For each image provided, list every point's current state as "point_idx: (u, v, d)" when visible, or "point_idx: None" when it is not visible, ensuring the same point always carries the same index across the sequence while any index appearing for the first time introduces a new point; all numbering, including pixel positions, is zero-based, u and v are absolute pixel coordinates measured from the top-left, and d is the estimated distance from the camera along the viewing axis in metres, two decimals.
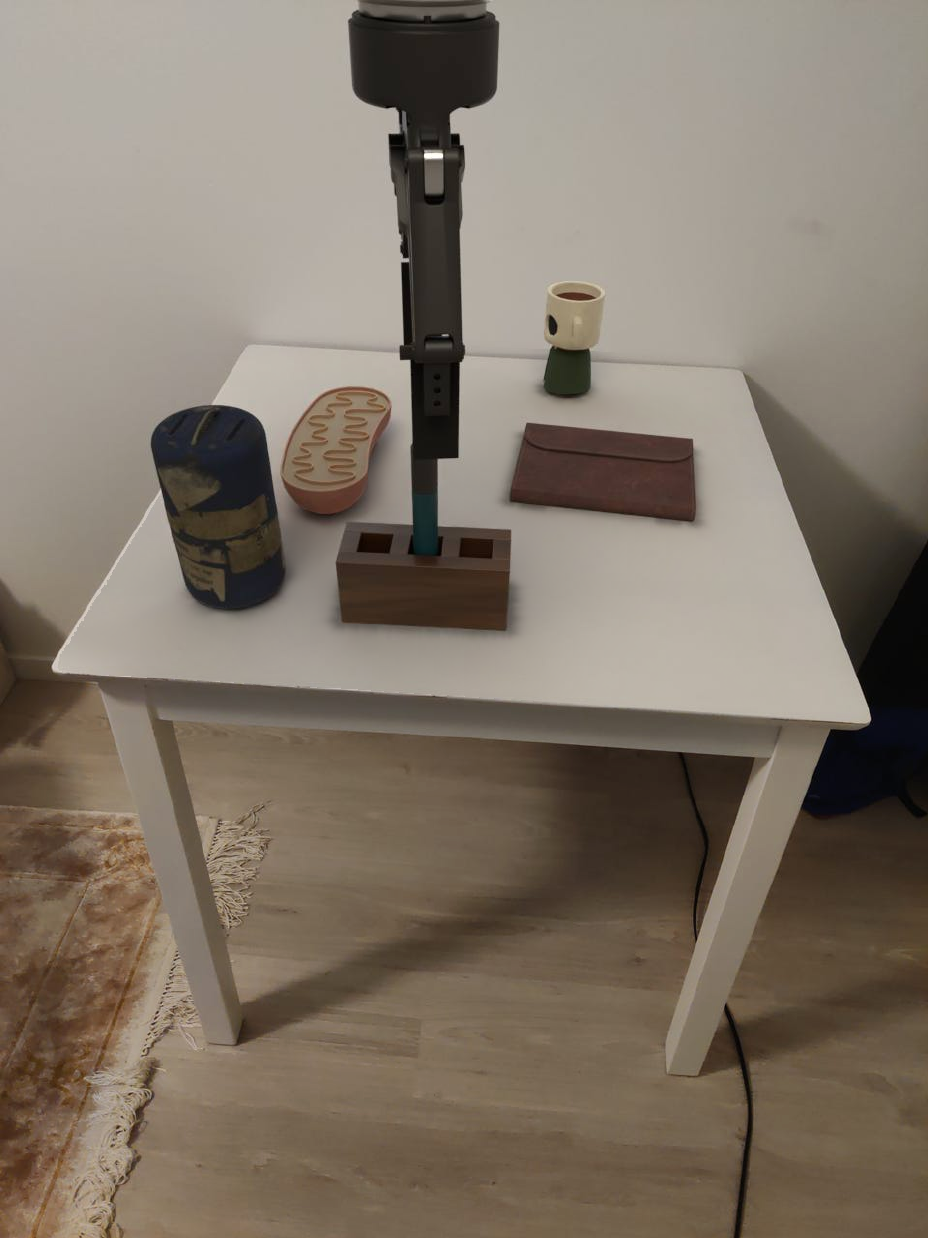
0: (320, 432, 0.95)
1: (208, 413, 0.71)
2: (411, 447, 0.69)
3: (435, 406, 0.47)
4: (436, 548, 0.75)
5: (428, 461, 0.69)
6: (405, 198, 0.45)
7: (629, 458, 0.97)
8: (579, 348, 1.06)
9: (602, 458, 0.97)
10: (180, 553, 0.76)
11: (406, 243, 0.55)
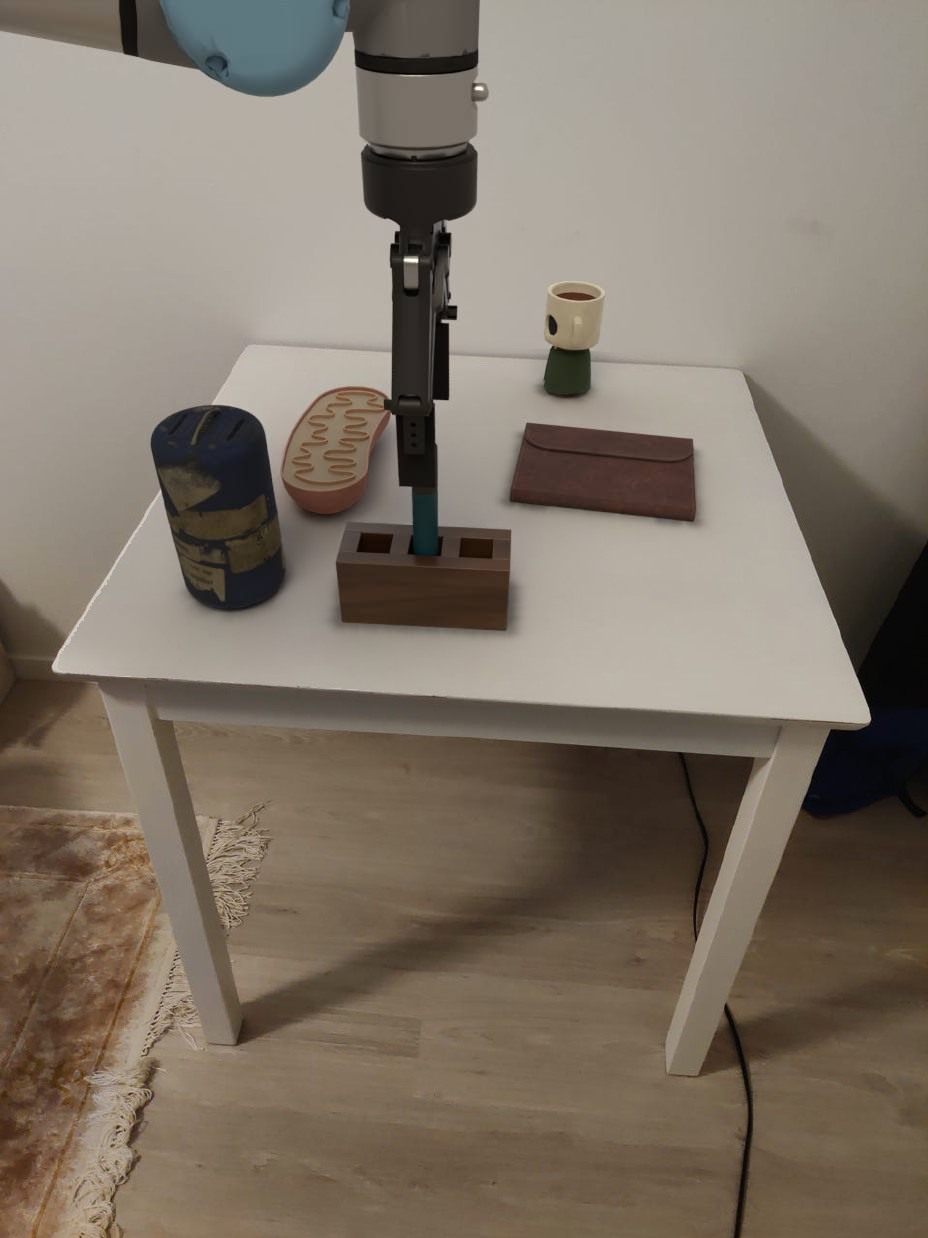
0: (320, 432, 0.95)
1: (208, 413, 0.71)
2: None
3: (412, 447, 0.60)
4: (436, 548, 0.75)
5: None
6: None
7: (629, 458, 0.97)
8: (579, 348, 1.06)
9: (602, 458, 0.97)
10: (180, 553, 0.76)
11: None
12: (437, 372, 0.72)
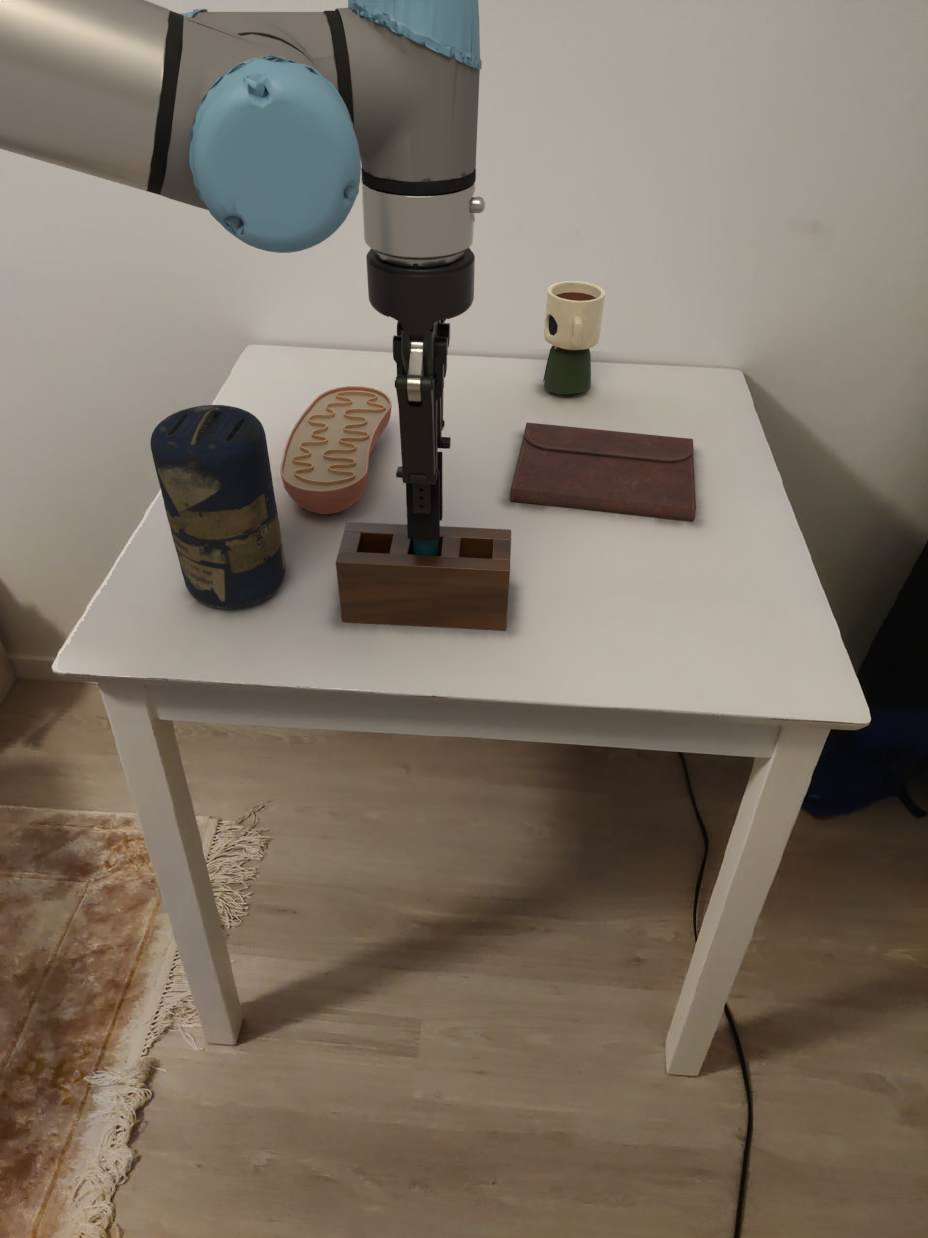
0: (320, 432, 0.95)
1: (208, 413, 0.71)
2: None
3: (420, 507, 0.69)
4: (436, 548, 0.75)
5: None
6: None
7: (629, 458, 0.97)
8: (579, 348, 1.06)
9: (602, 458, 0.97)
10: (180, 553, 0.76)
11: None
12: None
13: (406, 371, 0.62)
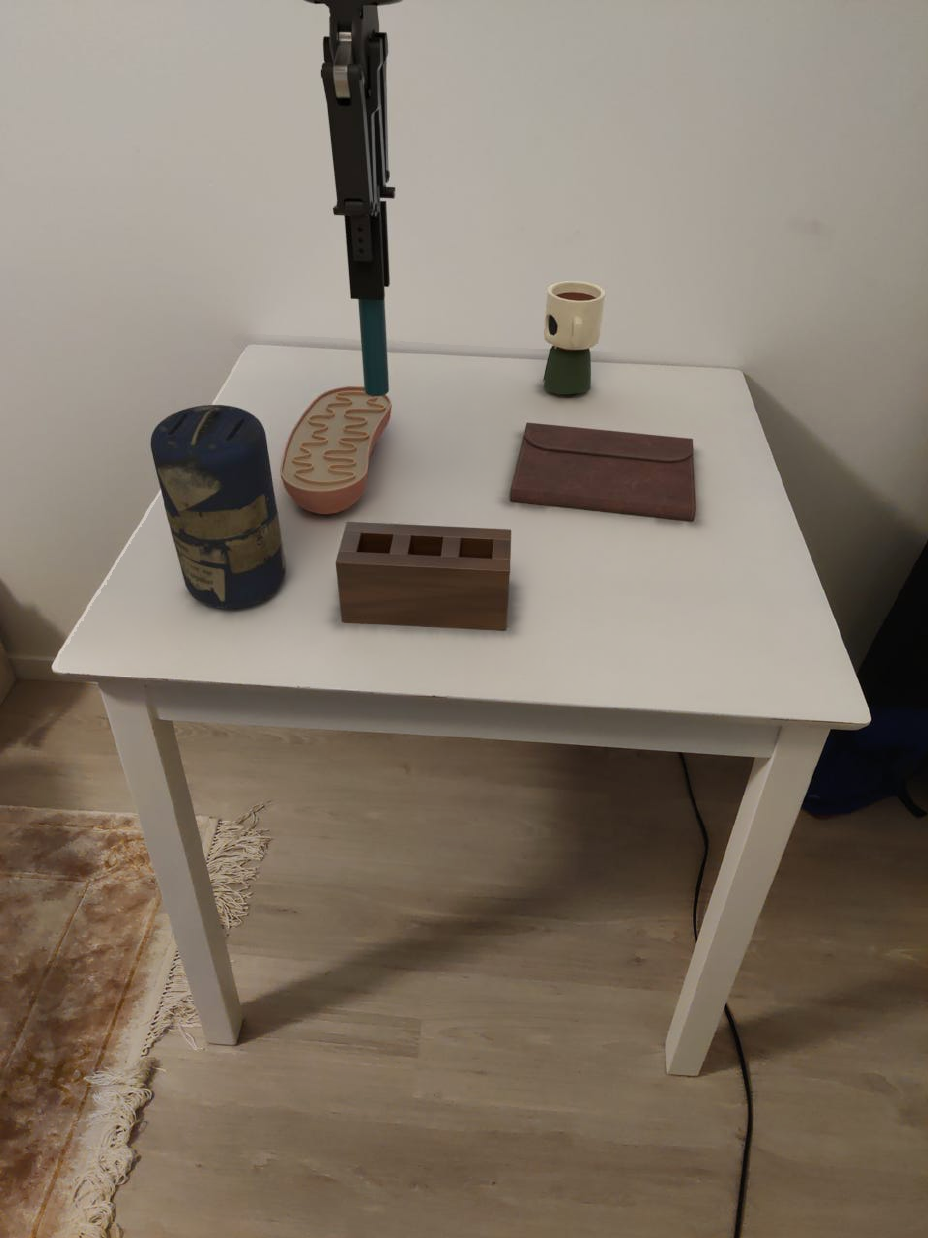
0: (320, 432, 0.95)
1: (208, 413, 0.71)
2: None
3: (360, 253, 0.66)
4: (383, 315, 0.72)
5: None
6: None
7: (629, 458, 0.97)
8: (579, 348, 1.06)
9: (602, 458, 0.97)
10: (180, 553, 0.76)
11: None
12: None
13: None
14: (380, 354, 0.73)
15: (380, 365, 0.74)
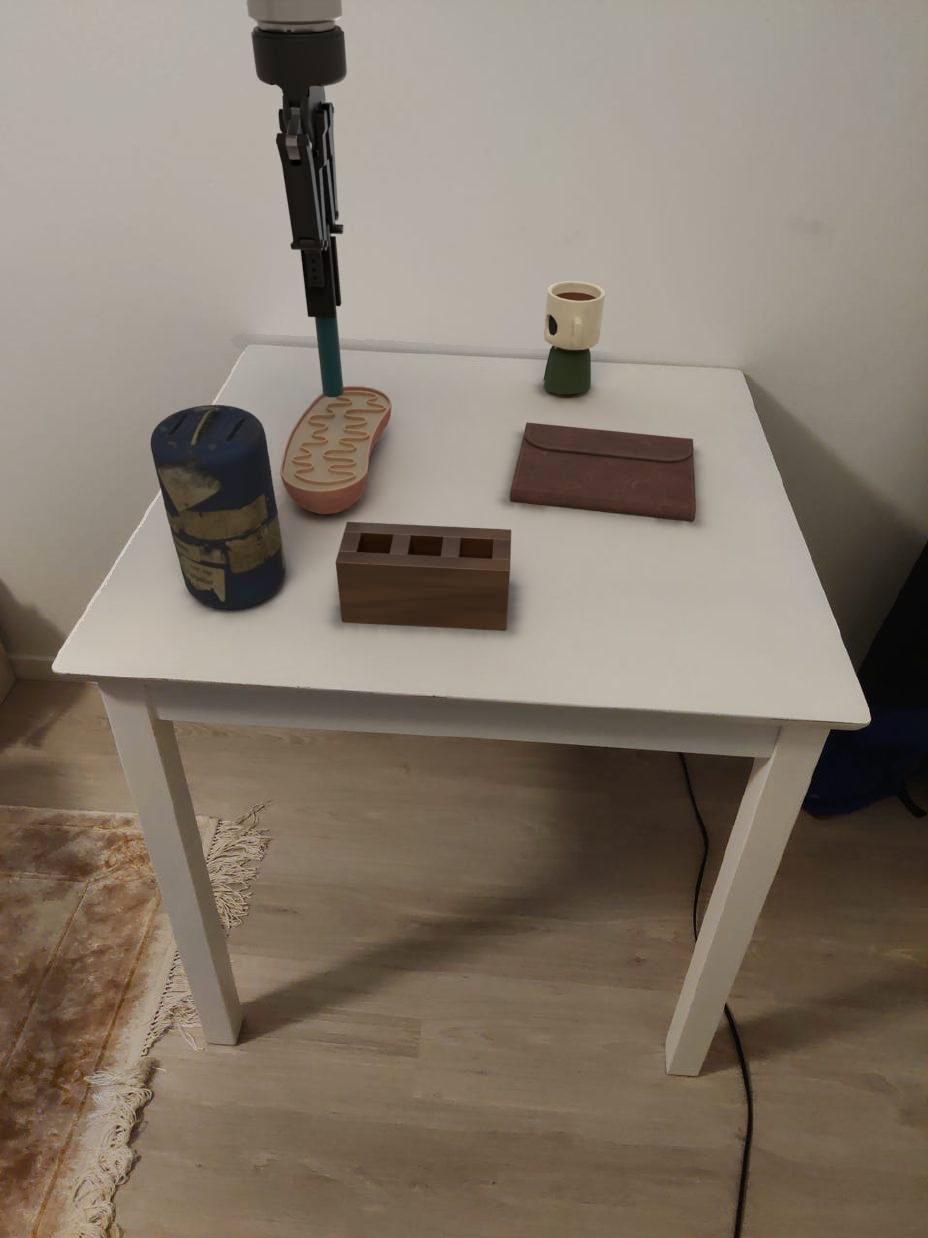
0: (320, 432, 0.95)
1: (208, 413, 0.71)
2: None
3: (314, 280, 0.80)
4: (336, 330, 0.86)
5: None
6: None
7: (629, 458, 0.97)
8: (579, 348, 1.06)
9: (602, 458, 0.97)
10: (180, 553, 0.76)
11: None
12: None
13: None
14: (334, 362, 0.88)
15: (334, 371, 0.88)
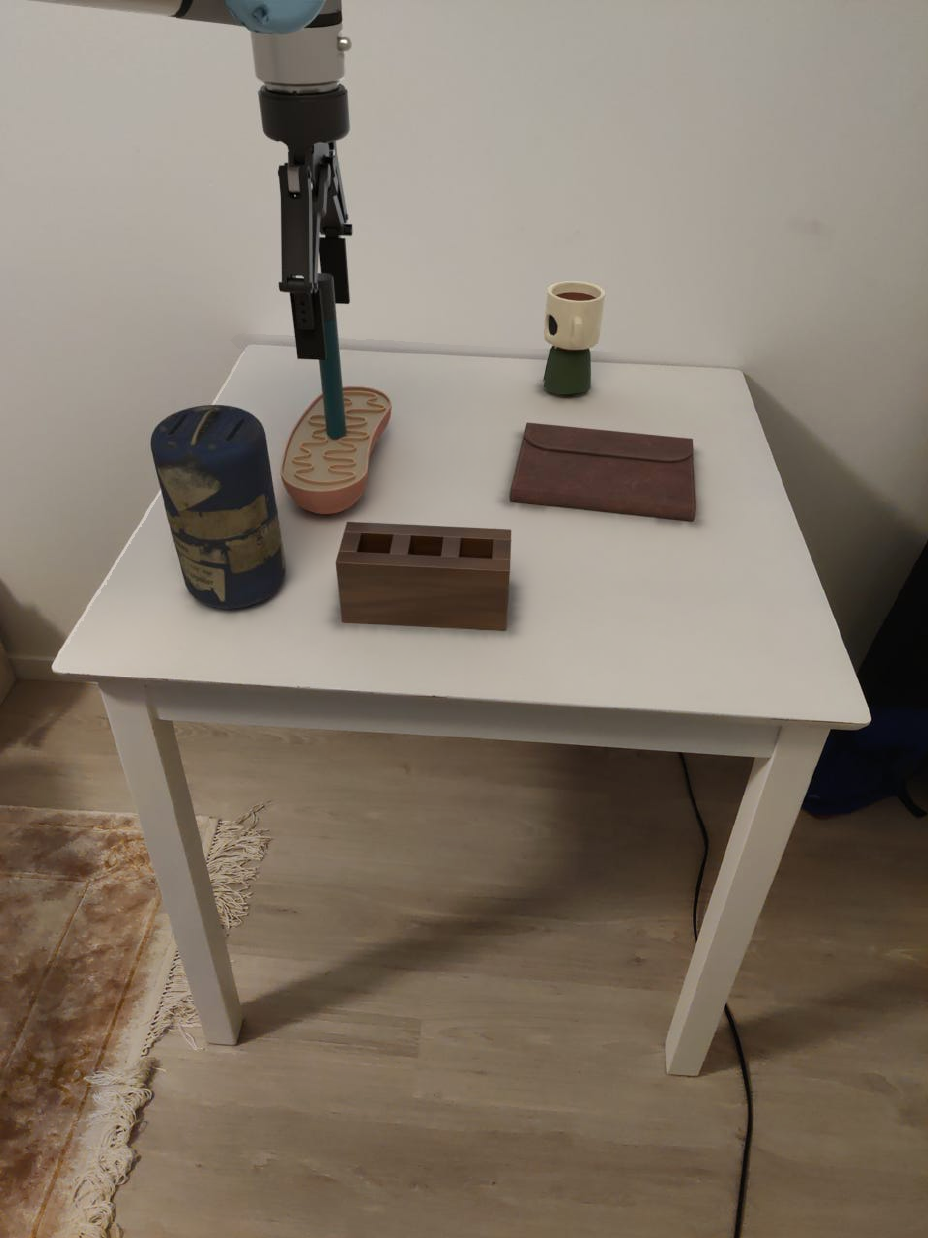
0: (320, 432, 0.95)
1: (208, 413, 0.71)
2: None
3: (303, 322, 0.77)
4: (339, 374, 0.89)
5: (325, 289, 0.82)
6: None
7: (629, 458, 0.97)
8: (579, 348, 1.06)
9: (602, 458, 0.97)
10: (180, 553, 0.76)
11: (319, 224, 0.85)
12: (338, 279, 0.89)
13: None
14: (338, 404, 0.91)
15: (338, 413, 0.91)
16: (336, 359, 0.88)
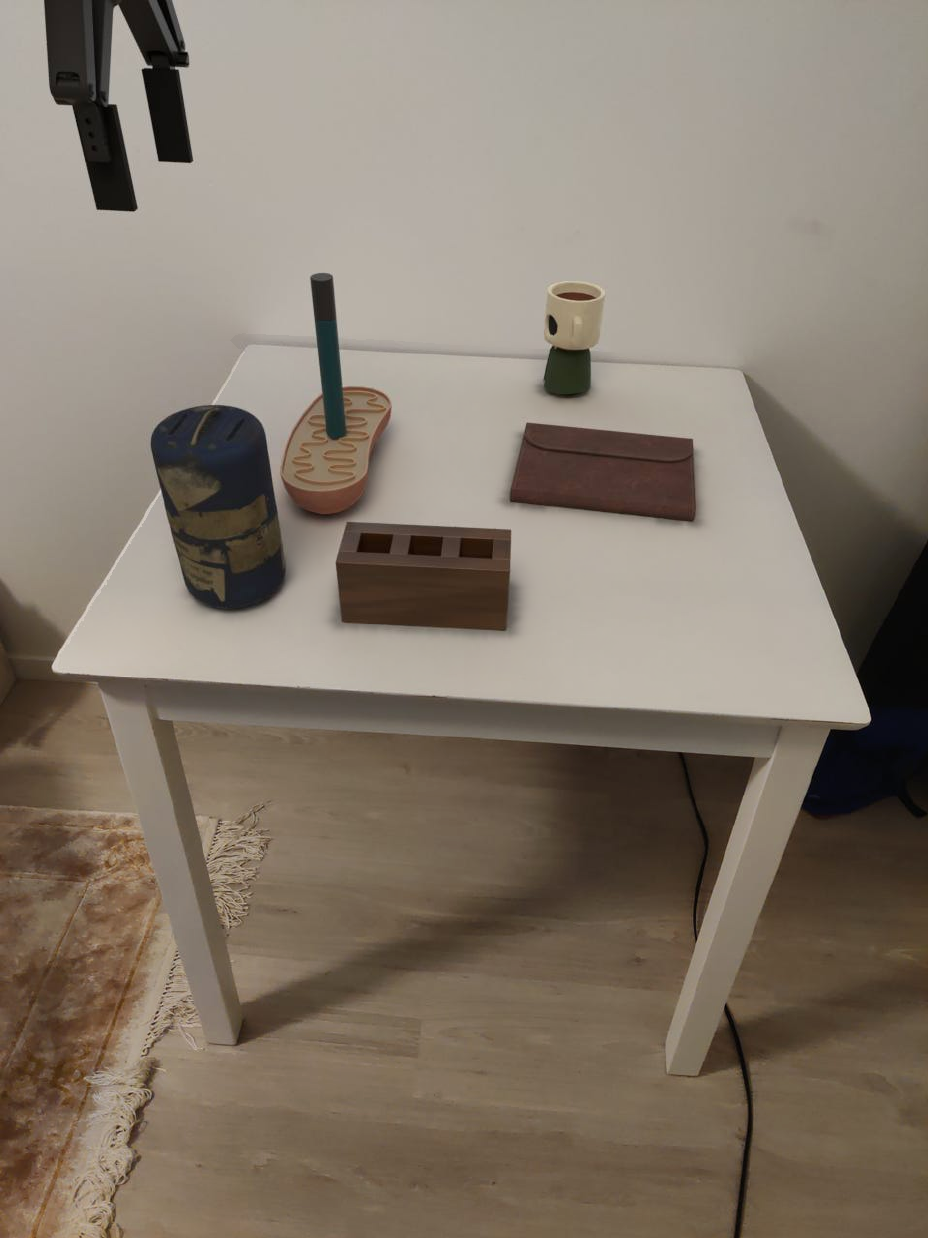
0: (320, 432, 0.95)
1: (208, 413, 0.71)
2: (310, 277, 0.83)
3: (93, 151, 0.57)
4: (339, 374, 0.89)
5: (324, 288, 0.82)
6: None
7: (629, 458, 0.97)
8: (579, 348, 1.06)
9: (602, 458, 0.97)
10: (180, 553, 0.76)
11: (141, 47, 0.65)
12: (173, 128, 0.69)
13: None
14: (338, 404, 0.91)
15: (338, 413, 0.91)
16: (336, 359, 0.88)
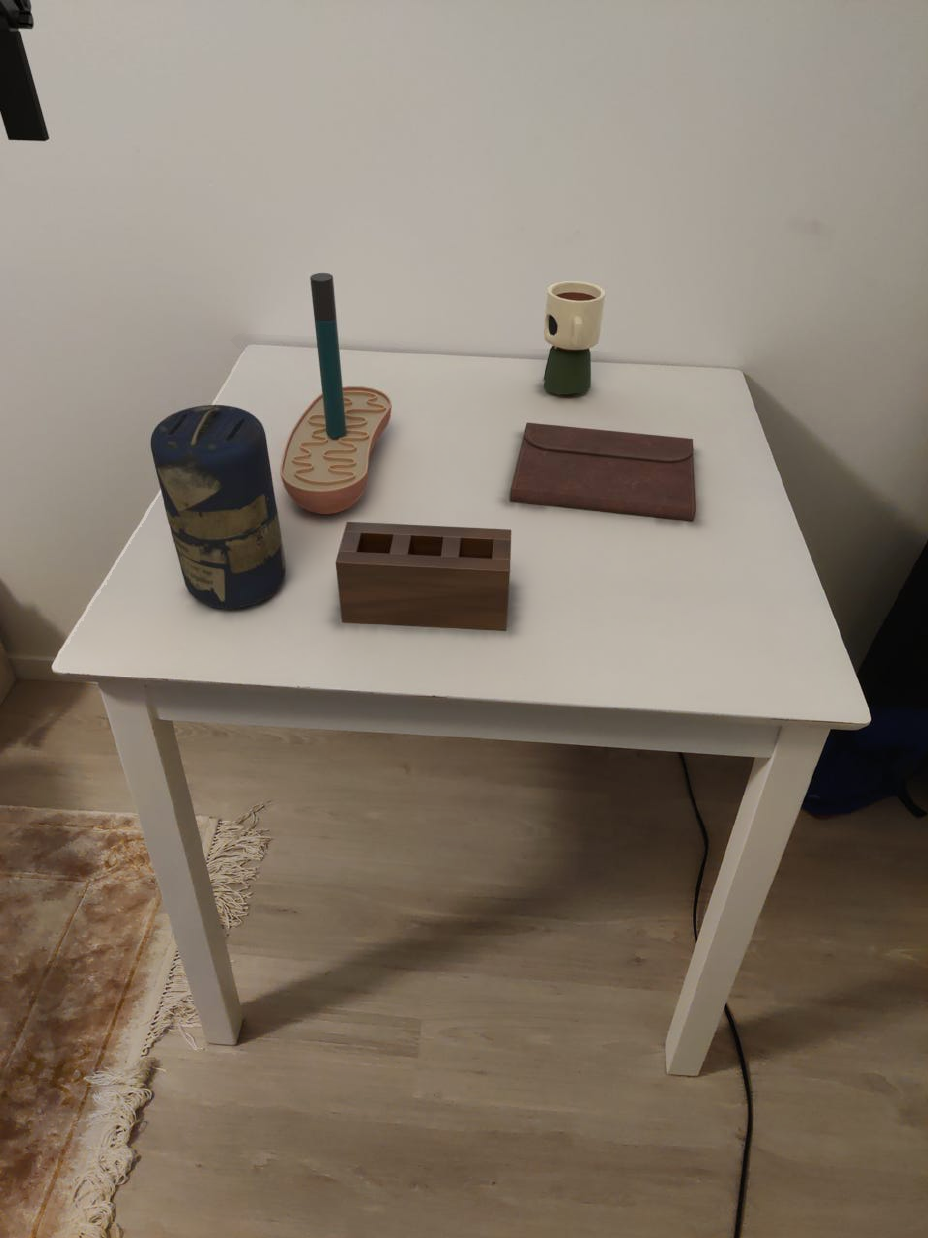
0: (320, 432, 0.95)
1: (208, 413, 0.71)
2: (310, 277, 0.83)
3: None
4: (339, 374, 0.89)
5: (324, 288, 0.82)
6: None
7: (629, 458, 0.97)
8: (579, 348, 1.06)
9: (602, 458, 0.97)
10: (180, 553, 0.76)
11: None
12: (20, 100, 0.60)
13: None
14: (338, 404, 0.91)
15: (338, 413, 0.91)
16: (336, 359, 0.88)
